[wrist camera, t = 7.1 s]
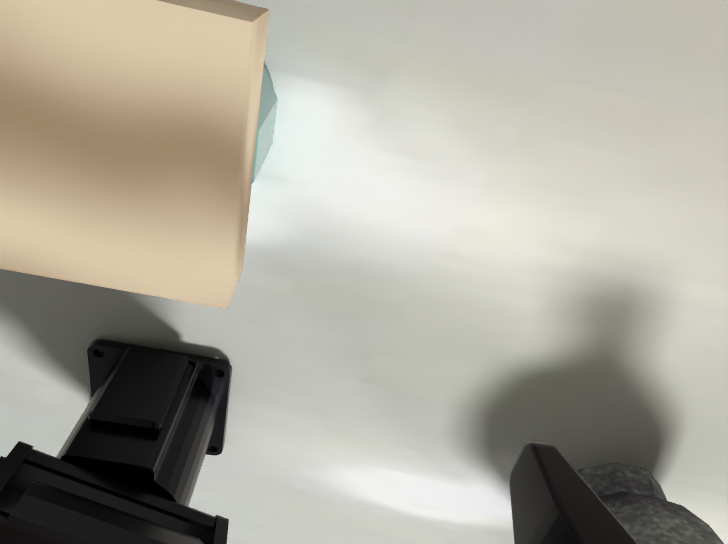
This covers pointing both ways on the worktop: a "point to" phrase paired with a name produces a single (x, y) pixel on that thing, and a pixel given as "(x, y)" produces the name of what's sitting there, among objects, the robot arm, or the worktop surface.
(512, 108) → the worktop surface
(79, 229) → the board
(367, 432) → the worktop surface
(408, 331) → the worktop surface
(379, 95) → the worktop surface
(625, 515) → the mortar and pestle
